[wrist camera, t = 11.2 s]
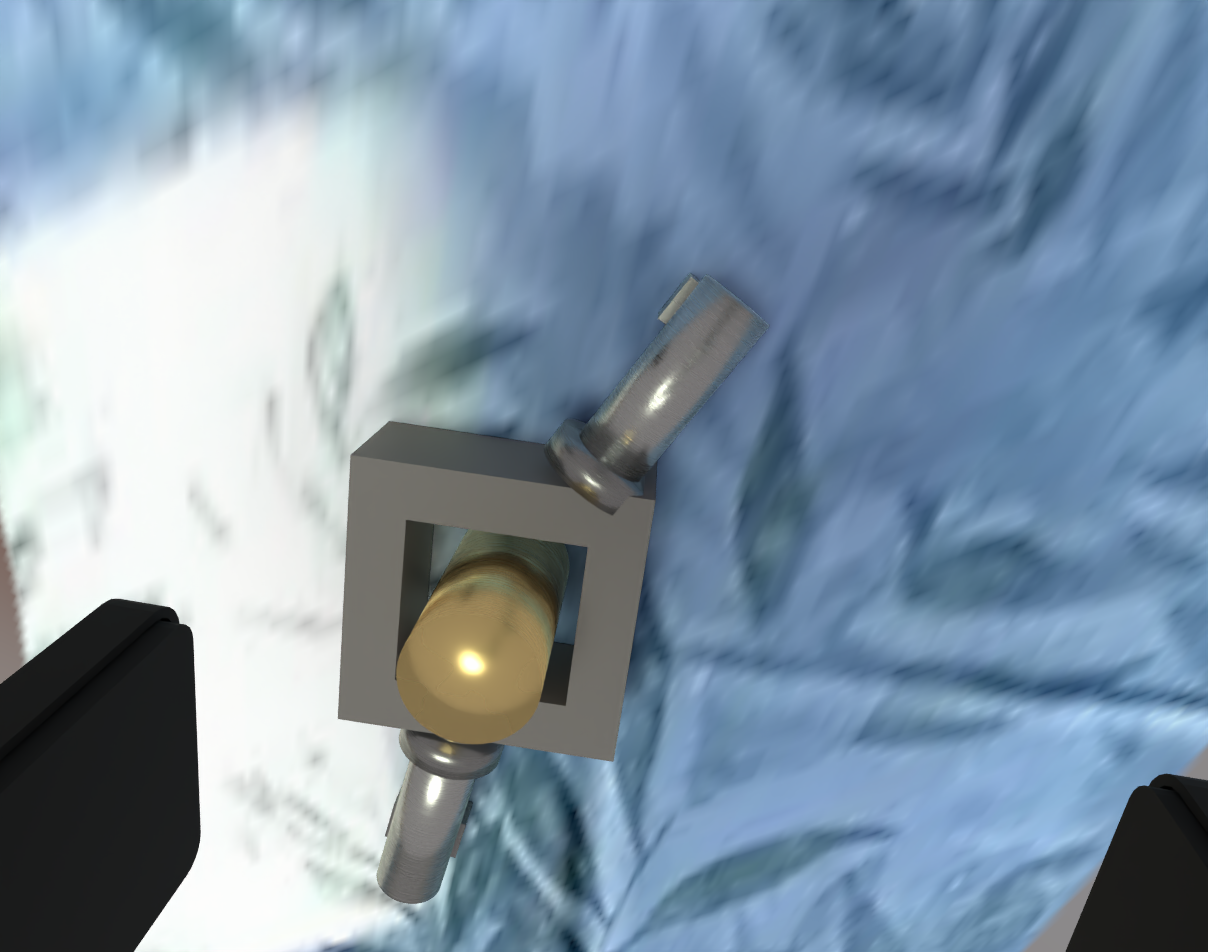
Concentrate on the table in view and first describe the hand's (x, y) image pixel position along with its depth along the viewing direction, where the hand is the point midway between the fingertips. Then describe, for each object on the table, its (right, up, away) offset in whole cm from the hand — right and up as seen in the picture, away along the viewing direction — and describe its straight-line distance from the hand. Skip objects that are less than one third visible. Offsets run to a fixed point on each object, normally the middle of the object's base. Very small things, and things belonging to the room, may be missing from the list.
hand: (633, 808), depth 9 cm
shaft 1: (-6, -8, +26) cm, 28 cm away
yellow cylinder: (-3, 0, +23) cm, 24 cm away
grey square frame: (-4, 0, +23) cm, 24 cm away
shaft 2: (+2, +7, +21) cm, 22 cm away
